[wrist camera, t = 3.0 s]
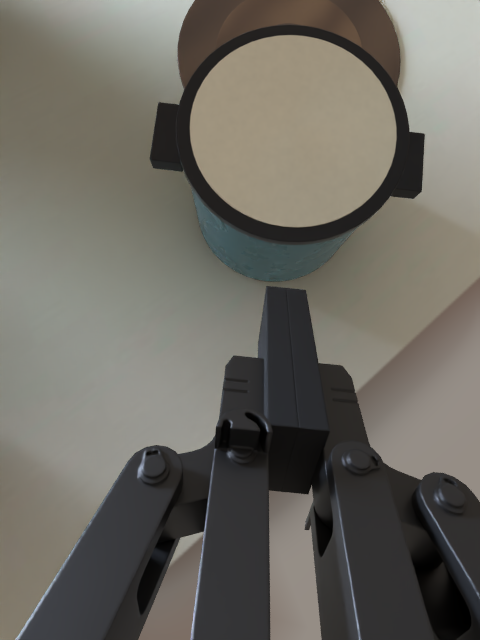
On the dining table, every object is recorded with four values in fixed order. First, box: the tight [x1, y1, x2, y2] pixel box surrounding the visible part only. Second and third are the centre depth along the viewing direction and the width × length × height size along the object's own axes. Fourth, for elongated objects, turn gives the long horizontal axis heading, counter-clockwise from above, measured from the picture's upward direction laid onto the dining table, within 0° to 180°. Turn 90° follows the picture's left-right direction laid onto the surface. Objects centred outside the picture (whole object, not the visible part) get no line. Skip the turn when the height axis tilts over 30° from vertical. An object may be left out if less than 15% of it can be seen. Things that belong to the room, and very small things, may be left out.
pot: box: [150, 25, 425, 281], centre depth 25 cm, size 12×16×10 cm
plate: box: [178, 0, 400, 89], centre depth 32 cm, size 19×19×1 cm
